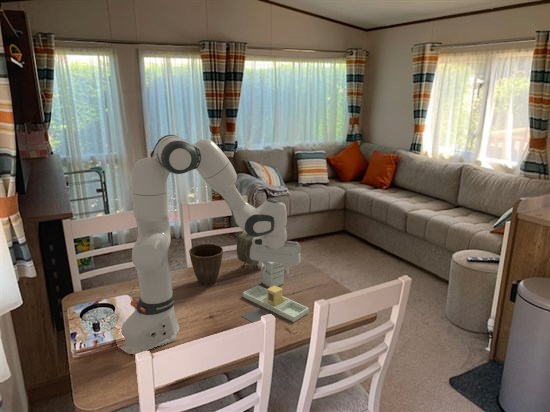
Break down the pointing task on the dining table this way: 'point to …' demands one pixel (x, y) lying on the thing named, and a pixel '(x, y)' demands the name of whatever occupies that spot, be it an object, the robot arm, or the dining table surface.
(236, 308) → the dining table surface
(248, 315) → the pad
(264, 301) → the tray middle
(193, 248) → the plant pot
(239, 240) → the tabletop clock
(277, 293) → the letter block
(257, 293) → the tray left
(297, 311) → the tray right
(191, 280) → the dining table surface
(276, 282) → the supplement box
